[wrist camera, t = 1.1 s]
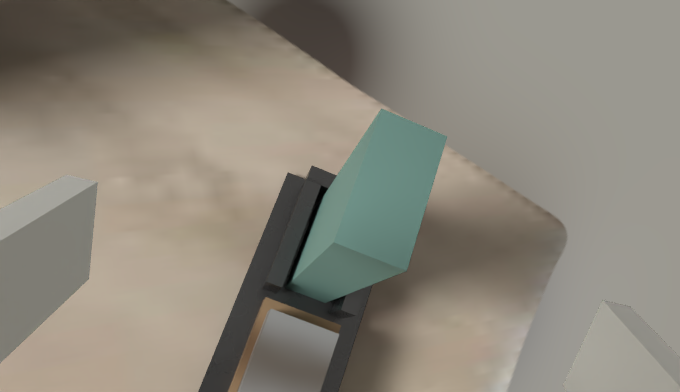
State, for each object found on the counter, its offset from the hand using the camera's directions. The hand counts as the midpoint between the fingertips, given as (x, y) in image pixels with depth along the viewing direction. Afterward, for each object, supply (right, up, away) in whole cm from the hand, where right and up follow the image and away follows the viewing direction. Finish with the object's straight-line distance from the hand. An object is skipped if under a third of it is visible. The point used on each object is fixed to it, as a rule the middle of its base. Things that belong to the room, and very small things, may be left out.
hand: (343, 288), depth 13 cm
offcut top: (-4, -10, +23) cm, 26 cm away
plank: (-2, -3, +29) cm, 29 cm away
